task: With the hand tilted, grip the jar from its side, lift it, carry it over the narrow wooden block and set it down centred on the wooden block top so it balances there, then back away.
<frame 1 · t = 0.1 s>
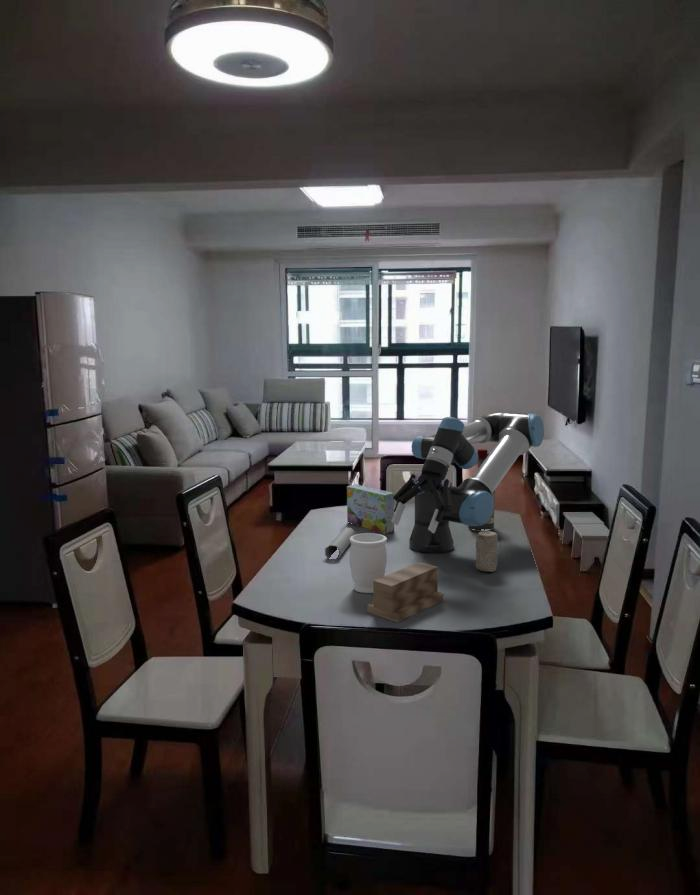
hand: (412, 527, 197), 15 cm above the table, tool tilted 35°, fingers open, 13 cm apart
tube: (341, 549, 228), on the table
snack box: (370, 528, 254), on the table
liquor: (480, 528, 253), on the table
carving: (486, 571, 205), on the table
wooden block: (406, 605, 177), on the table
jar: (368, 589, 190), on the table
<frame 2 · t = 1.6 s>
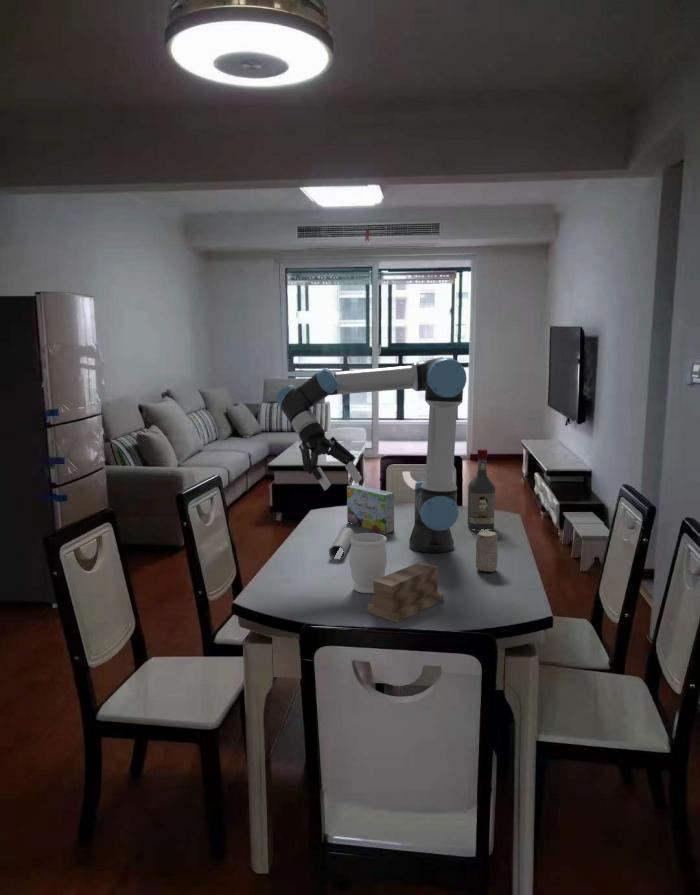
hand: (343, 484, 197), 28 cm above the table, tool tilted 45°, fingers open, 13 cm apart
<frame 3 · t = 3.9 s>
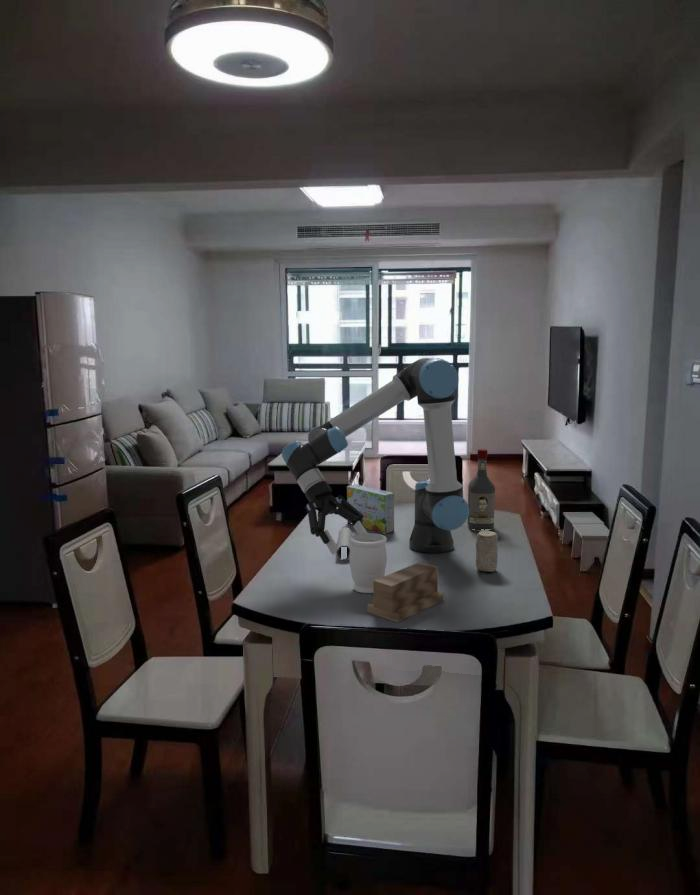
hand: (352, 546, 191), 12 cm above the table, tool tilted 45°, fingers open, 13 cm apart
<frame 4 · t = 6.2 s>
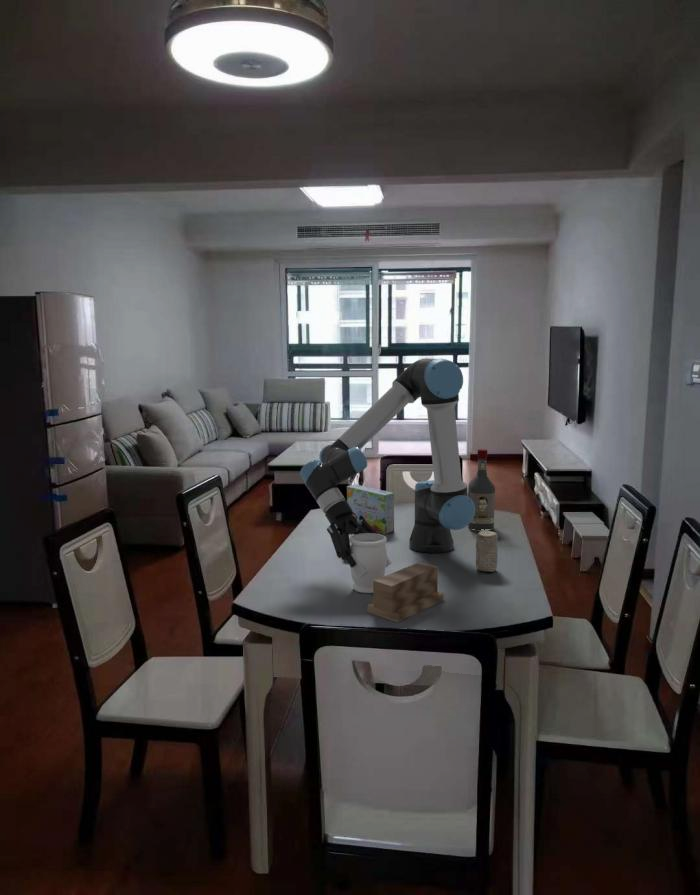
hand: (375, 570, 187), 6 cm above the table, tool tilted 45°, fingers closed on jar, 10 cm apart
jar: (368, 589, 190), on the table, touching gripper
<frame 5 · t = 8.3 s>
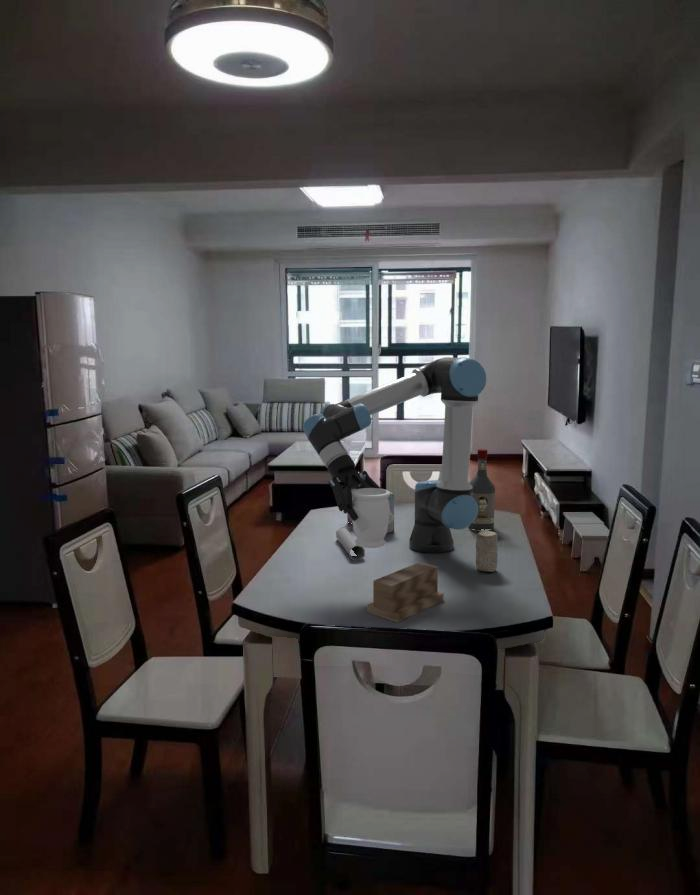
hand: (378, 524, 183), 20 cm above the table, tool tilted 45°, fingers closed on jar, 10 cm apart
jar: (370, 544, 186), point 14 cm above the table, touching gripper
when the fingers open (16 cm above the table, at t = 10.5 s): jar stays where it is, resting on wooden block.
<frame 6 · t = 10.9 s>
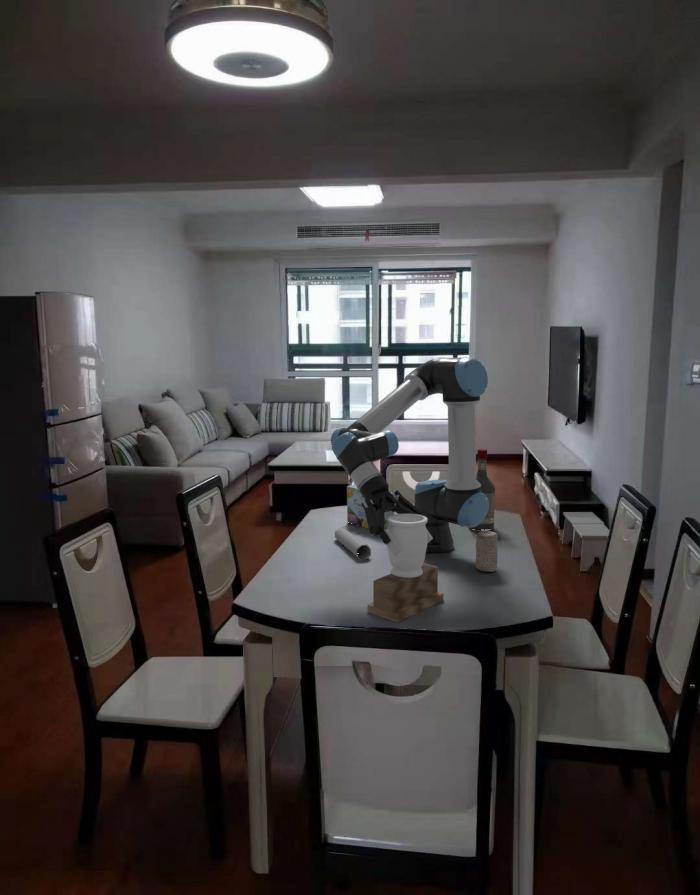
hand: (414, 547, 173), 17 cm above the table, tool tilted 45°, fingers open, 13 cm apart
jar: (406, 574, 176), point 9 cm above the table, touching wooden block
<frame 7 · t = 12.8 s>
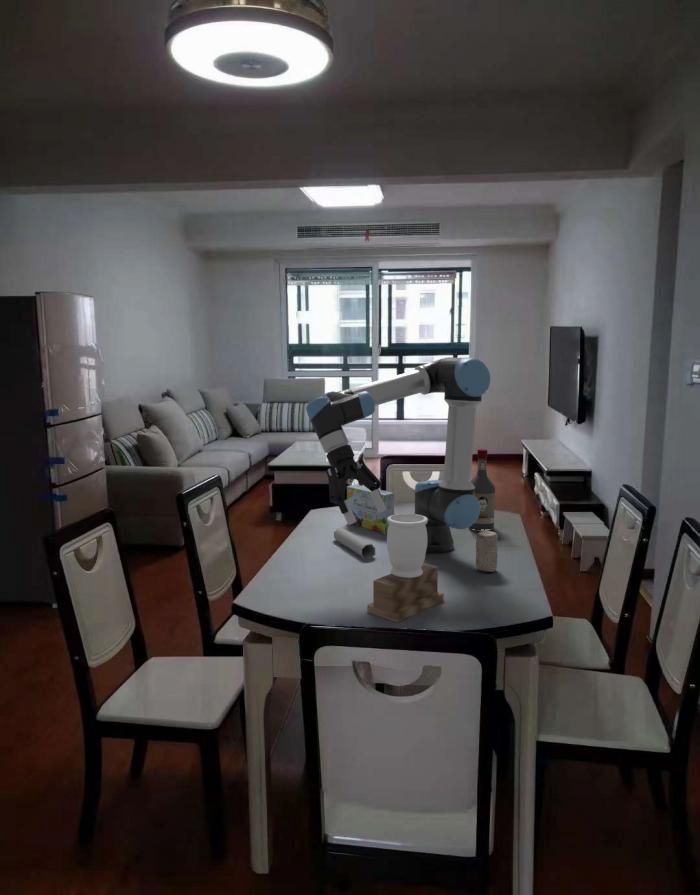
hand: (368, 517, 187), 21 cm above the table, tool tilted 30°, fingers open, 13 cm apart
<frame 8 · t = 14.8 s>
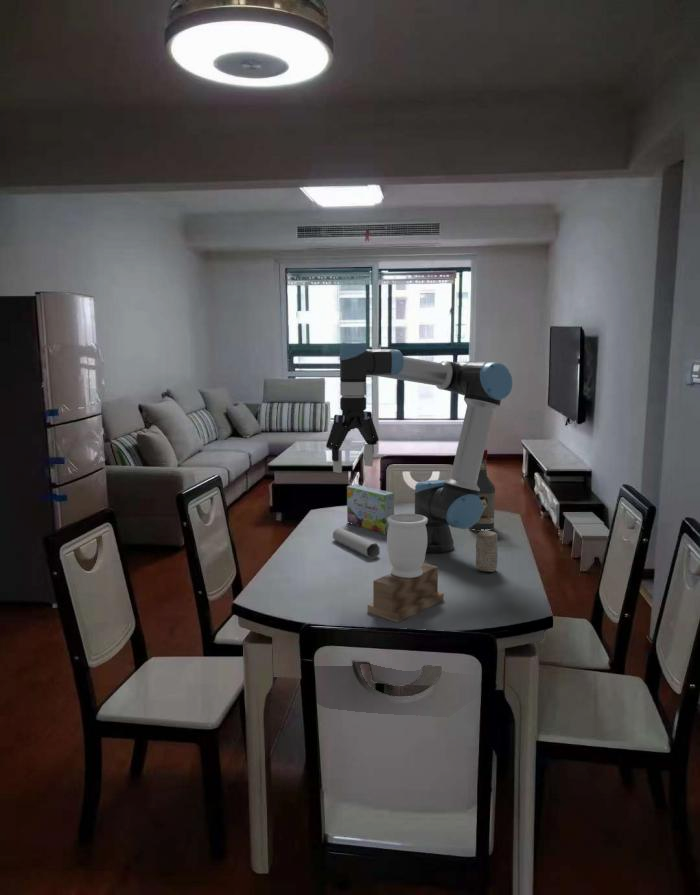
hand: (353, 469, 195), 33 cm above the table, tool pointing down, fingers open, 13 cm apart
at the end: jar inside the target area on the wooden block (0.1 cm from its centre), point 8.8 cm above the wooden block's base; jar tilted 0°; the gripper is holding nothing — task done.
